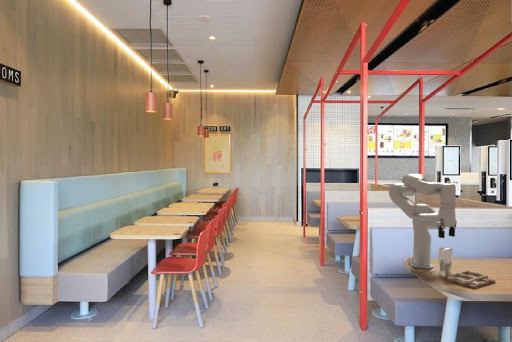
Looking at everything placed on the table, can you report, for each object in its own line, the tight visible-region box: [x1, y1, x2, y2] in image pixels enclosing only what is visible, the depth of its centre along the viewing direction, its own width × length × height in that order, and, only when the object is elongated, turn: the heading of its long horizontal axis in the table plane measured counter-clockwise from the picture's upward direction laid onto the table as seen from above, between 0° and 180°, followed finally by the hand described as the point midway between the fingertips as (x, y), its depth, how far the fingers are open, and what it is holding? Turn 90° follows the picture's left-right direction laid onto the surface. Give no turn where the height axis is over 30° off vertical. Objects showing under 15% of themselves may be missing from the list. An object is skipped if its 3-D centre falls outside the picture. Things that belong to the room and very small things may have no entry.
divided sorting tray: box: [444, 270, 496, 290], centre depth 191 cm, size 15×21×3 cm
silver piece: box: [438, 247, 454, 278], centre depth 200 cm, size 7×7×15 cm
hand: (446, 237), depth 200 cm, fingers open, 9 cm apart
